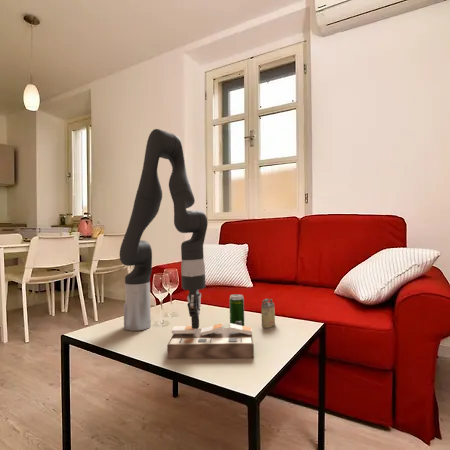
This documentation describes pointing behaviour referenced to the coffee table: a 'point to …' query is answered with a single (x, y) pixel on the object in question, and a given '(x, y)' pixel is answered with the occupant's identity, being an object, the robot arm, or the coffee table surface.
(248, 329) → the rocker right
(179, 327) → the rocker left
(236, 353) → the switch console
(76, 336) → the coffee table surface
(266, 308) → the lighter
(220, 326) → the rocker middle
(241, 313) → the beer can
